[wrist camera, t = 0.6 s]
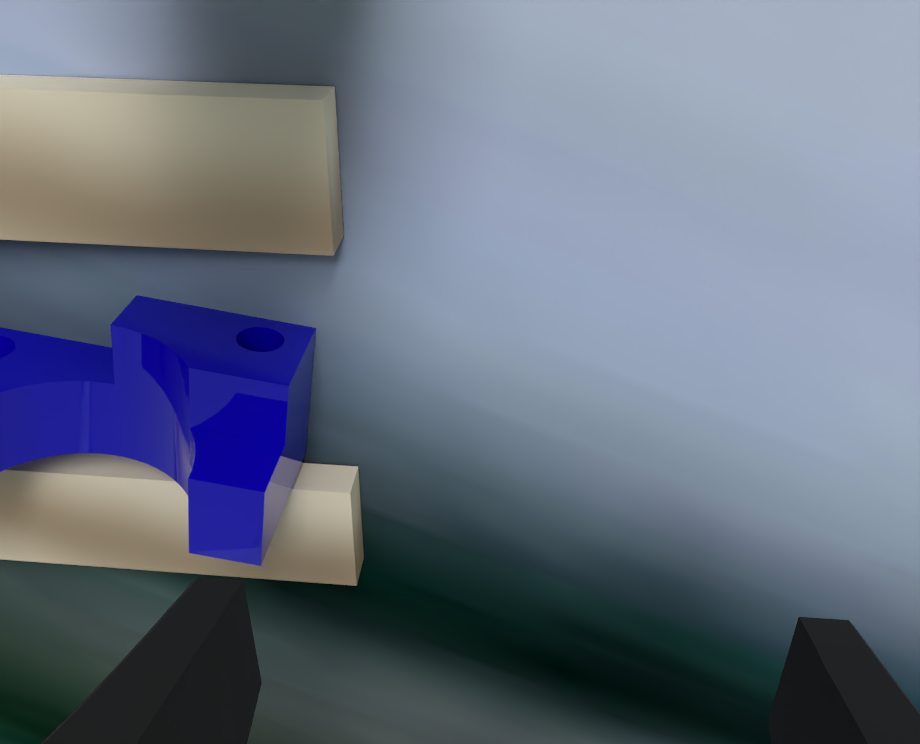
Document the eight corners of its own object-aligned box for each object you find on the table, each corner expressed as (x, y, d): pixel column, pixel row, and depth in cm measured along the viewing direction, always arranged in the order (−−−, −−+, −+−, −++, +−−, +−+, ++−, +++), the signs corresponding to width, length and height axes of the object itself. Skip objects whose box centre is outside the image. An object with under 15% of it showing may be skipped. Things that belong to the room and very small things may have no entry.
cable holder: (317, 324, 19) (267, 430, 16) (307, 447, 21) (261, 565, 18) (-40, 259, 19) (-166, 351, 16) (-17, 388, 21) (-126, 495, 18)
